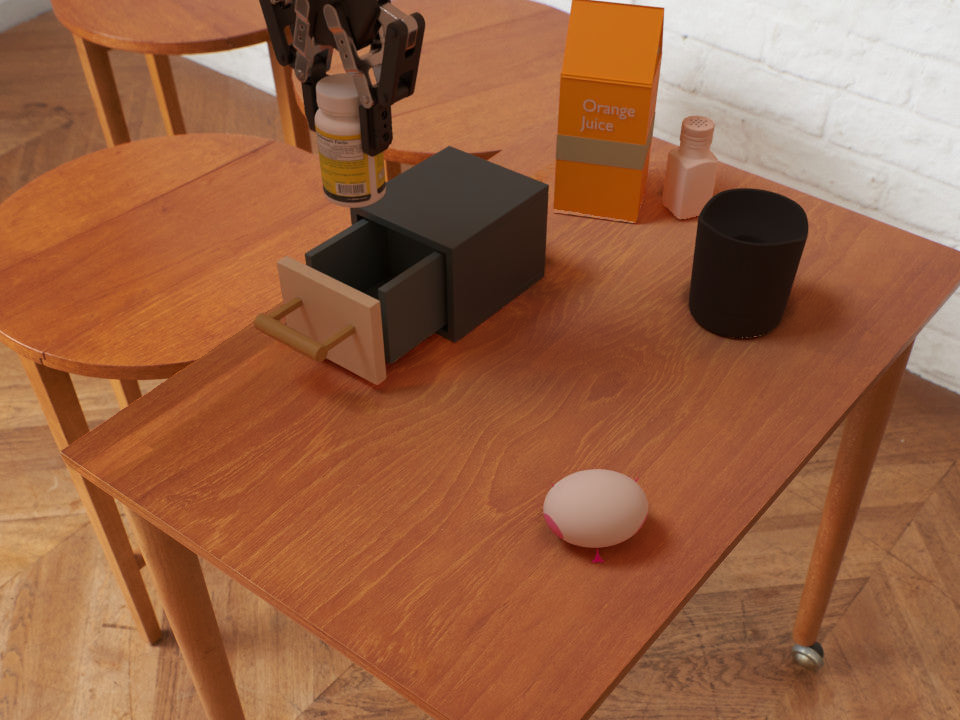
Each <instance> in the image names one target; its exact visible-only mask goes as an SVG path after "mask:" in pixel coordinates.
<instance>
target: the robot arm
mask: <svg viewBox="0 0 960 720" xmlns="http://www.w3.org/2000/svg"><path fill="white" fill-rule="evenodd" d="M258 2H259V5H260V8H261V13H262V15H263V19H264V23H265V25H266V28H267V32H268V35H269V39H270V42H271V45H272V49H273V52H274V55H275V59H276V61H277V63H278V64H279V65H280V66H282V67H287V66H289V67H290V68H291V69H292V70H293V71H294V75H295V78H296V79H297V80H298V82H300V84H301V85H300V86H301V92H302V100H303V110H304V115H305V118H306V121H307V124H308V130H310V131H311V132H314V133H316V129H315V114H316V112H317V110H318V109H319V107H318V104H317V95H316V85H317V83H318V82H319V81H320V80H321V79H323V78H324V77H327V76H330V75H331V74H328V72H330V70H331V67H332V60H333V55H334V50H336V52H338V54H339V57H340V60H341V63H342V66H343V70H344V73H347V74H350V75H351V76H352V77H353V80H354V83H355V87H356V90H357V93H358V96H359V100H360V102H361V105H359V106H358V107H359V118H360V130H361V142H362V151H363V153H364V154H367V155H369V156H371V157H374V156H376V155H378V154H380V153H381V152H383V153H384V152H386V151H387V150H388V149H389V147H390V146H391V145H392V143H393V140H394V132H393V116H392V106H393V105H394V104H395V103H398V102H401V101H402V100H404V99H406V98H407V99H408V98H409V97H411V96H413V95H414V94H415V89H416V85H417V78H418V77H417V76H418V73H419V72H418V71H419V66H420V60H421V55H422V48H423V43H424V36H425V31H426V20H425V18H424V16H423V15H422V14H421V12H418V11H415V12H412V13H410V14H406V13H405V12H403V11H402V10H401V9H399V8H397V7H396V6H395V5H393V4H392V0H258ZM288 26H289V30H290V34H291V37H292V42H290V43H289V42H288V38H287V35H286V32H285V29H286V27H288ZM369 46H370V47H369ZM367 47H369V51H368V52H367V53H364V54H362V55H360V56H359V54H358V52H359V51H361V50H363V49H365V48H367ZM371 69H372V72H373V75H374V79H375V83H374V84H373V83H372V79H371V77H370V70H371Z"/></svg>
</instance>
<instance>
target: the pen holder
mask: <svg viewBox="0 0 960 720" xmlns="http://www.w3.org/2000/svg"><path fill="white" fill-rule="evenodd" d="M697 217H698V218H697V224H696V234H695V244H694V249H693V251H694V252H693V259H692V260H693V261H692V266H691V276H690V285H689V295H688V310H689V312H690V314H691V316H692V317H693V319H694V320H695V322H696V323H698V325H699V326H701V327H702V328H703V329H705V330H706V331H709V332H710V331H711V333H713V334H716V335H718V336H722V337H725V338H730V337H734V338H733V339H738V338H742V337H743V338H746V337H748V338H746V339H750V338H749V337H754V336H759V335H762V336H764V335H763V334H765V335H767V334H769V333H771V332H772V331H774V330H775V329H776V328H777V327H778V326H779V325H780V324H781V322H782V319H783V317H784V315H785V311H786V308H787V306H788V301H789V298H790V296H791V292H792V289H793V286H794V283H795V279H796V276H797V273H798V269H799V267H800V262H801V259H802V256H803V252H804V250H805V246H806V243H807V241H808V240H807V239H808V236H809V219H808V215H807V212H806V211H805V209H804V208H803V207H802V206H801V205H800V204H799V203H798V202H796V201H795V200H794V199H792V198H790V197H788V196H786V195H783V194H780V193H778V192H774V191H770V190H766V189H762V188H761V189H760V188H749V187H741V188H740V187H738V188H729V189H725V190H723V191H722V190H721V191H720V192H717V193H716V194H715V195H714V194H713V196H712V198H711V199H710V200H709V201H708V202H707V203H706V205H705V206H704V208H703V209H702V211H701V213H700V215H699V216H697ZM768 332H769V333H768ZM766 333H767V334H766ZM759 337H760V336H759Z"/></svg>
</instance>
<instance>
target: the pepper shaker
mask: <svg viewBox="0 0 960 720" xmlns="http://www.w3.org/2000/svg"><path fill="white" fill-rule="evenodd" d="M715 127H716V123H715V121H713V119H711V118H709V117H707V116H703V115H689V116H686V117H684V118H683V120H682V122H681V127H680V134H679V146H677V147H674V148H671V150H670V151H669V152H668V153H667V159H666V166H665V175H664V182H663V189H662V196H661V202H663V203H662V205H663V204H664V206H666V207H667V208H668V209H669V210H668V209H667V208H666V207H665V208H666V209H667V210H668V211H669V212H670V211H671V212H672V213H673V214H674V215H673V214H672V213H671V212H670V213H671V214H672V215H673V216H674V217H675V216H676V217H677V218H678V220H681V219H684V220H687V218H688V219H691V217H692V218H697V217H699V215H700V213H701V211H702V209H703V208H704V206H705V205H706V203H707V202H708V201H709V200H710V199H711V198H712V197H713V196H714V190H715V184H716V179H717V172H718V167H719V161H718V158H717V156H716V155H715V153H714V152H713V151H711V145H712V144H713V139H714V132H715ZM664 206H663V207H664ZM696 216H697V217H696ZM676 217H675V218H676ZM677 218H676V219H677Z"/></svg>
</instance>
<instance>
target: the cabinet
mask: <svg viewBox="0 0 960 720" xmlns="http://www.w3.org/2000/svg"><path fill="white" fill-rule="evenodd" d="M549 192H550V185H549V184H547V183H546V182H542V181H540V180H538V179H535V178H533V177H530V176H528V175H525V174H522V173H520V172H518V171H515V170H512V169H509V168H507V167H504V166H502V165H499V164H498V163H495V162H492V161H489V160H487V159H484V158H482V157H479V156H476V155H474V154H473V153H472V154H471V153H469V152H466V151H464V150H461V149H458V148H457V147H453V146H451V145H448V146H446V147H444V148H443V149H441V150H439V151H438V152H436V153H434V154H432V155H431V156H429V157H428V158H425V159H424V160H422V161H420V162H419V163H417V164H415V165H413V166H411V167H410V168H408V169H407V170H405V171H403V172H401V173H399V174H398V175H396V176H394V177H393V178H391V179H389V180H387V181H386V192H385V194H384V196H383V197H382V198H381V199H380V200H378V201H377V202H375V203H373V204H371V205H368V206H364V207H358V208H349V214H350V224H351V225H350V226H352V225H353V224H355V223H357V222H358V221H360V220H362V219H363V218H367V219H369V220H371V221H373V222H376V223H378V224H380V225H382V226H385V227H387V228H389V229H391V230H394V231H396V232H398V233H400V234H403V235H405V236H407V237H409V238H411V239H414V240H416V241H418V242H420V243H423V244H425V245H427V246H429V247H432V248H434V249H436V250H438V251H440V252H443V253H445V254H446V278H447V311H448V324H446V325H445V326H443V327H442V328H441V329H439V330H438V331H437V332H435V333H434V334H435V335H437V336H439V337H441V338H443V339H445V340H448V341H449V342H452V343H454V344H456V343H457V342H459V341H461V339H463V338H464V337H465V336H467V335H468V334H470V333H471V332H472V331H473V330H475V329H476V328H478V327H479V326H480V325H481V324H483V323H484V322H485V321H487V320H488V319H490V318H491V317H492V316H493V315H495V314H496V313H498V312H499V311H500V310H502V309H503V308H505V307H506V306H507V305H508V304H510V303H511V302H512V301H514V300H515V299H516V298H518V297H519V296H520V295H522V294H523V293H524V292H526V291H527V290H528V289H530V288H531V287H533V285H535V284H536V283H538V282H539V281H541V279H543V278H544V277H545V274H546V257H547V256H546V255H547V254H546V253H547V236H548V235H547V234H548V215H549Z"/></svg>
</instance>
